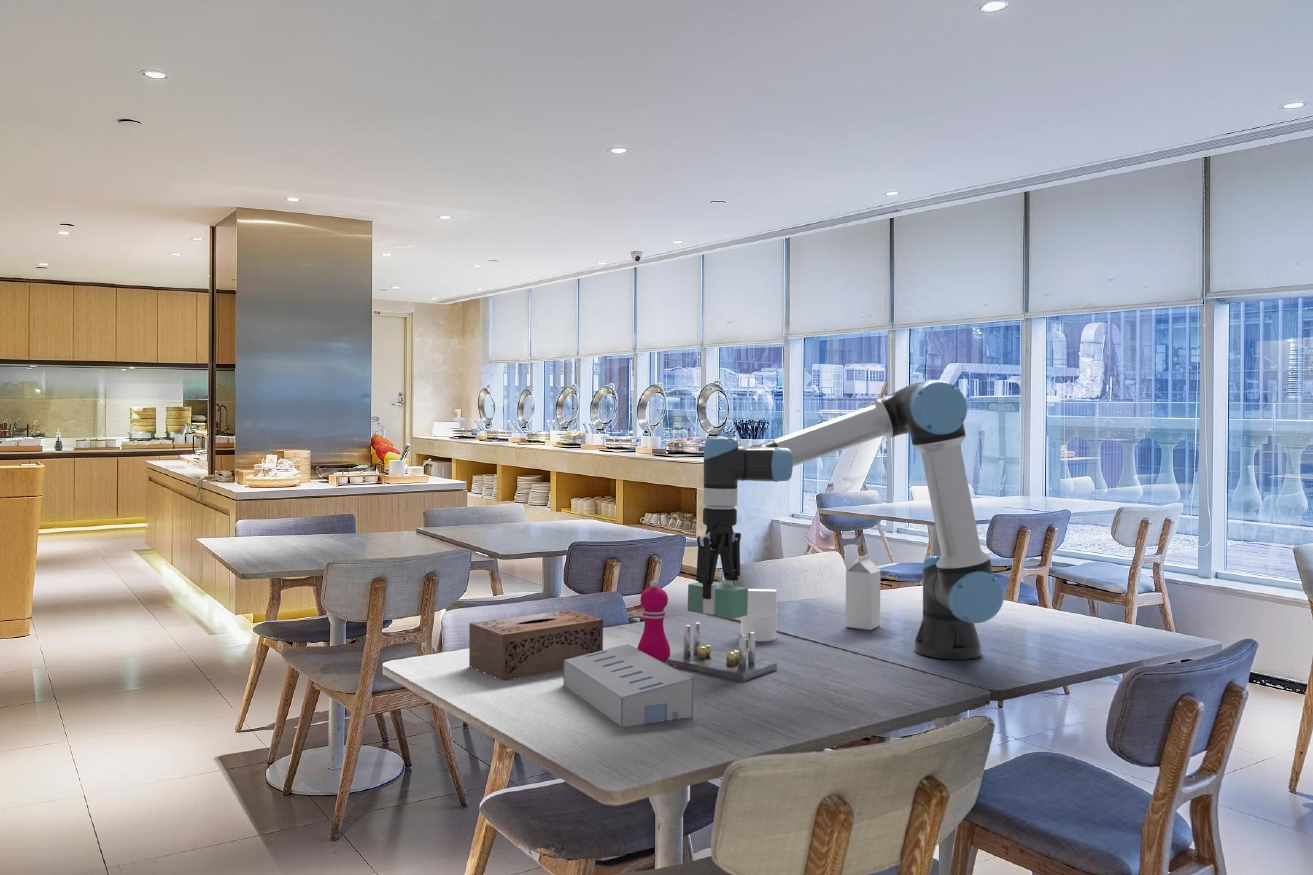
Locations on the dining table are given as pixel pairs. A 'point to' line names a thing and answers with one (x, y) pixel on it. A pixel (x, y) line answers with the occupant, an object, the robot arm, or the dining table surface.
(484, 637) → the tissue box cover
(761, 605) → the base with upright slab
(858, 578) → the milk carton
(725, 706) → the dining table surface
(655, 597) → the pepper mill
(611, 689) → the warehouse
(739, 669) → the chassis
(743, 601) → the mint green rectangular block
